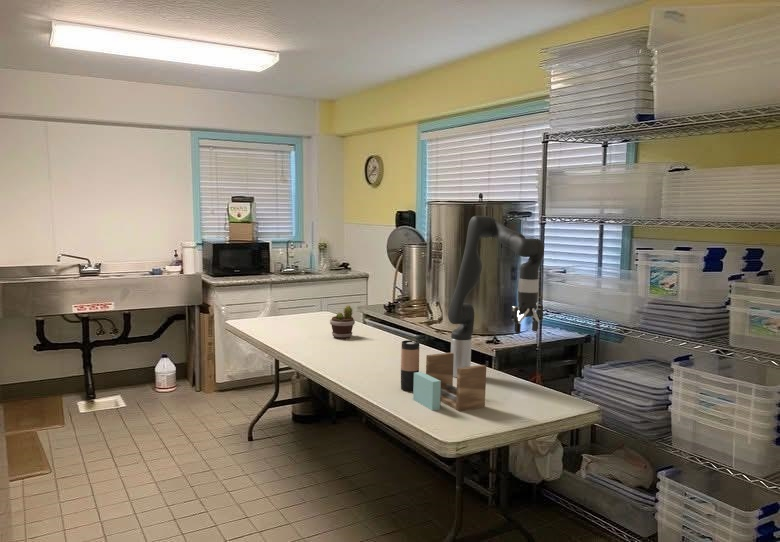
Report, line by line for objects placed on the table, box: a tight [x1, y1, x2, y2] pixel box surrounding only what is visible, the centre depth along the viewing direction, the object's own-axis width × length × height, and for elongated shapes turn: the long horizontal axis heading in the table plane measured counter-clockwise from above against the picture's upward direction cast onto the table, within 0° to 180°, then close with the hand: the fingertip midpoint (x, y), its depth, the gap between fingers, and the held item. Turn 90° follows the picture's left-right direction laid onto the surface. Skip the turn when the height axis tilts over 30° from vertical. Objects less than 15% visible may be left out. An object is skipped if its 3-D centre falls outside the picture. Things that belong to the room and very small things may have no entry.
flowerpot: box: [329, 304, 356, 340], centre depth 345 cm, size 14×15×20 cm
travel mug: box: [400, 339, 420, 393], centre depth 246 cm, size 8×8×20 cm
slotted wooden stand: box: [425, 352, 487, 412], centre depth 233 cm, size 24×12×16 cm, turn 28°
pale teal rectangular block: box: [412, 371, 441, 411], centre depth 227 cm, size 14×4×11 cm, turn 28°
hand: (526, 331), depth 228 cm, fingers open, 8 cm apart
